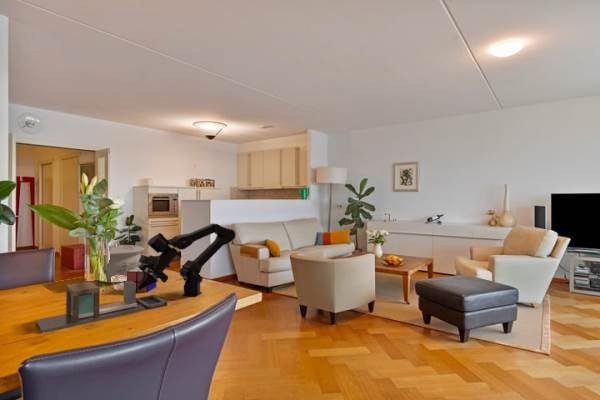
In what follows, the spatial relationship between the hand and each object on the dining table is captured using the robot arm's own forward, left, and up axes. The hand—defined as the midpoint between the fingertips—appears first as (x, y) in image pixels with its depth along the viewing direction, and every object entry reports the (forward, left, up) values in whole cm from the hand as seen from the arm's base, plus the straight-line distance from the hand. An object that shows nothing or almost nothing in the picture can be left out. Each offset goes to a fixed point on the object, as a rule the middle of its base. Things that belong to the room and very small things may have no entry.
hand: (138, 289), depth 138 cm
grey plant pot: (+37, -37, -7) cm, 53 cm away
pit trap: (-3, -4, -7) cm, 9 cm away
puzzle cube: (+13, -23, -7) cm, 28 cm away
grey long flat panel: (+10, +13, -7) cm, 18 cm away
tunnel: (+12, +16, -6) cm, 21 cm away
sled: (+7, +10, -6) cm, 14 cm away
